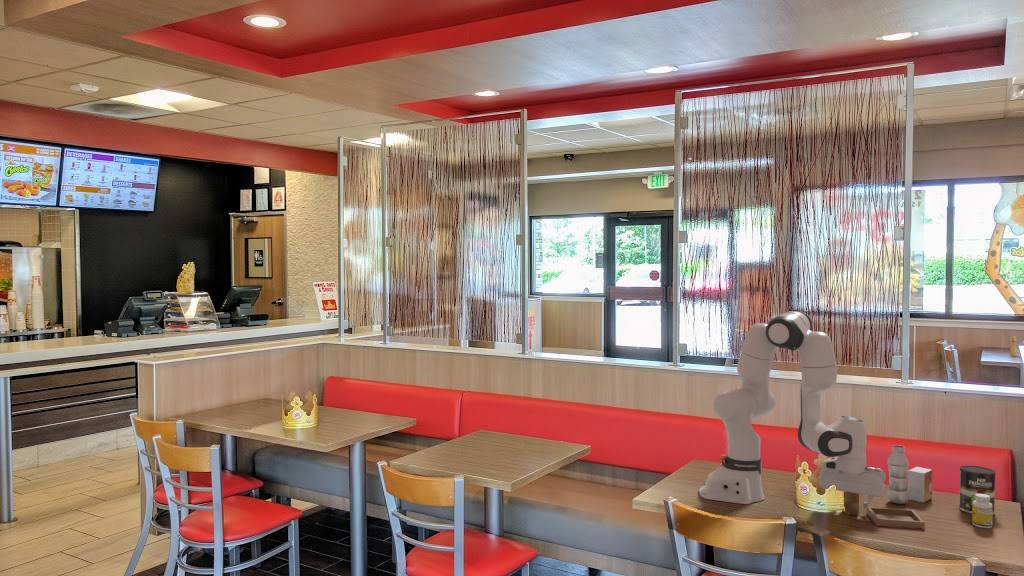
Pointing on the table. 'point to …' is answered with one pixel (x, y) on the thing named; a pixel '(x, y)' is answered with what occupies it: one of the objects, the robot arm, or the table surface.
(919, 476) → the small box
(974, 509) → the supplement bottle
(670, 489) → the table surface
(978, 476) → the coffee can
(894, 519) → the tray
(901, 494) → the plastic bottle
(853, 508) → the block
